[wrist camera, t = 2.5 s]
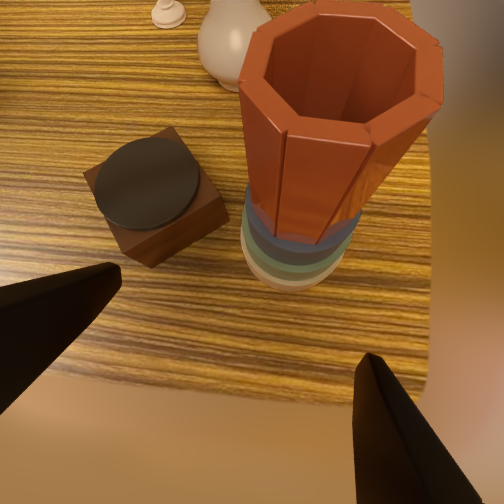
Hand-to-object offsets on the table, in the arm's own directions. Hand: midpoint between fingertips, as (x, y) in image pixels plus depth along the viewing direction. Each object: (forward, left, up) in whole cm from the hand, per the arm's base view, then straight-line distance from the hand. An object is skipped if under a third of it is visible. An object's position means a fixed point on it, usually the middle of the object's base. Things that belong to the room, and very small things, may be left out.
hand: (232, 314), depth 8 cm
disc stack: (+4, -7, -14) cm, 16 cm away
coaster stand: (+14, +1, -14) cm, 20 cm away
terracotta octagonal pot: (+4, -7, -5) cm, 9 cm away
